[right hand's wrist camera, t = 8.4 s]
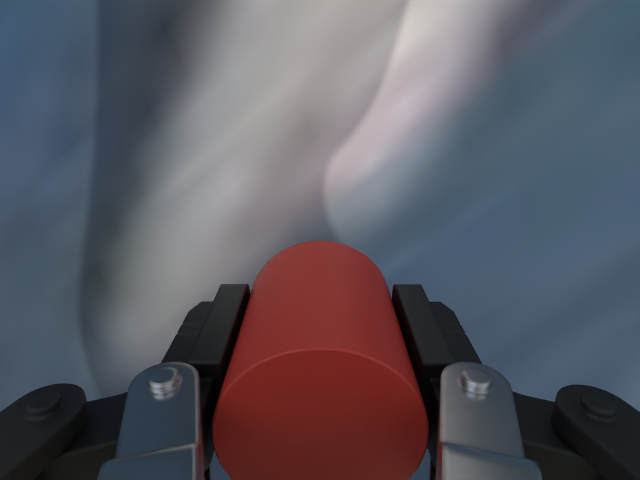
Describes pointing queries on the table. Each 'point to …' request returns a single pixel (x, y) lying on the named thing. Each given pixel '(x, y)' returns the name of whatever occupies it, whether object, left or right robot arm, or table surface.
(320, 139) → the table surface
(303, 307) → the can
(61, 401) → the right robot arm
